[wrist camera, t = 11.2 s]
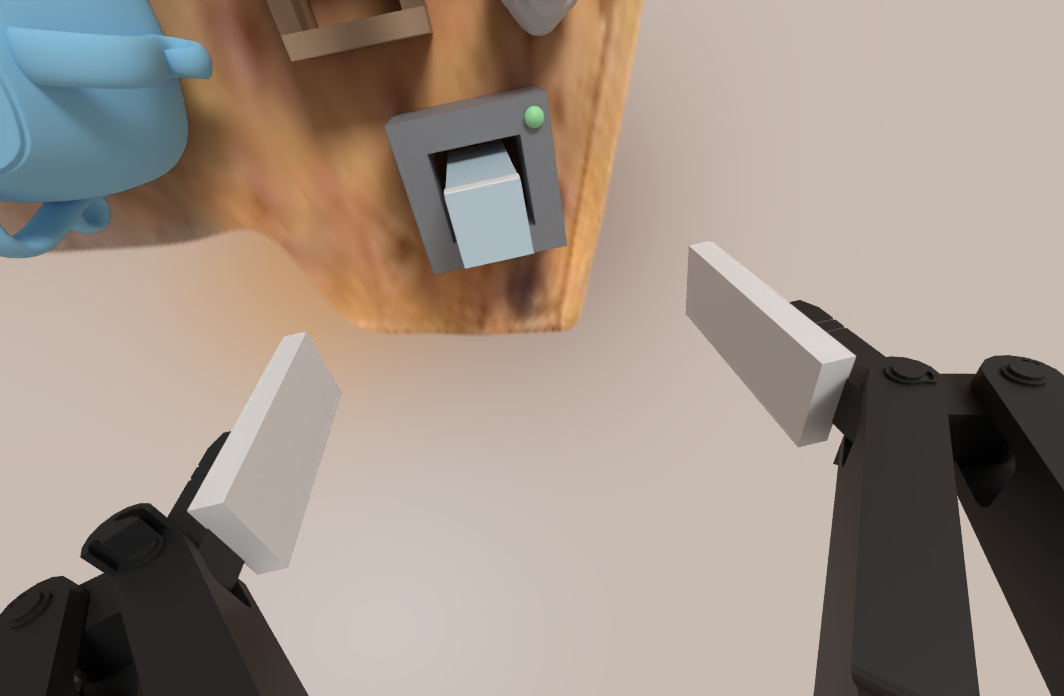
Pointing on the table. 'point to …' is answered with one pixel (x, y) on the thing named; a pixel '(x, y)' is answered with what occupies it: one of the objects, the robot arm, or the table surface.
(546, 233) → the port
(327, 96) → the table surface
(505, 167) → the plug
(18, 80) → the decorative pot
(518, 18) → the rubber duck
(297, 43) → the holster
